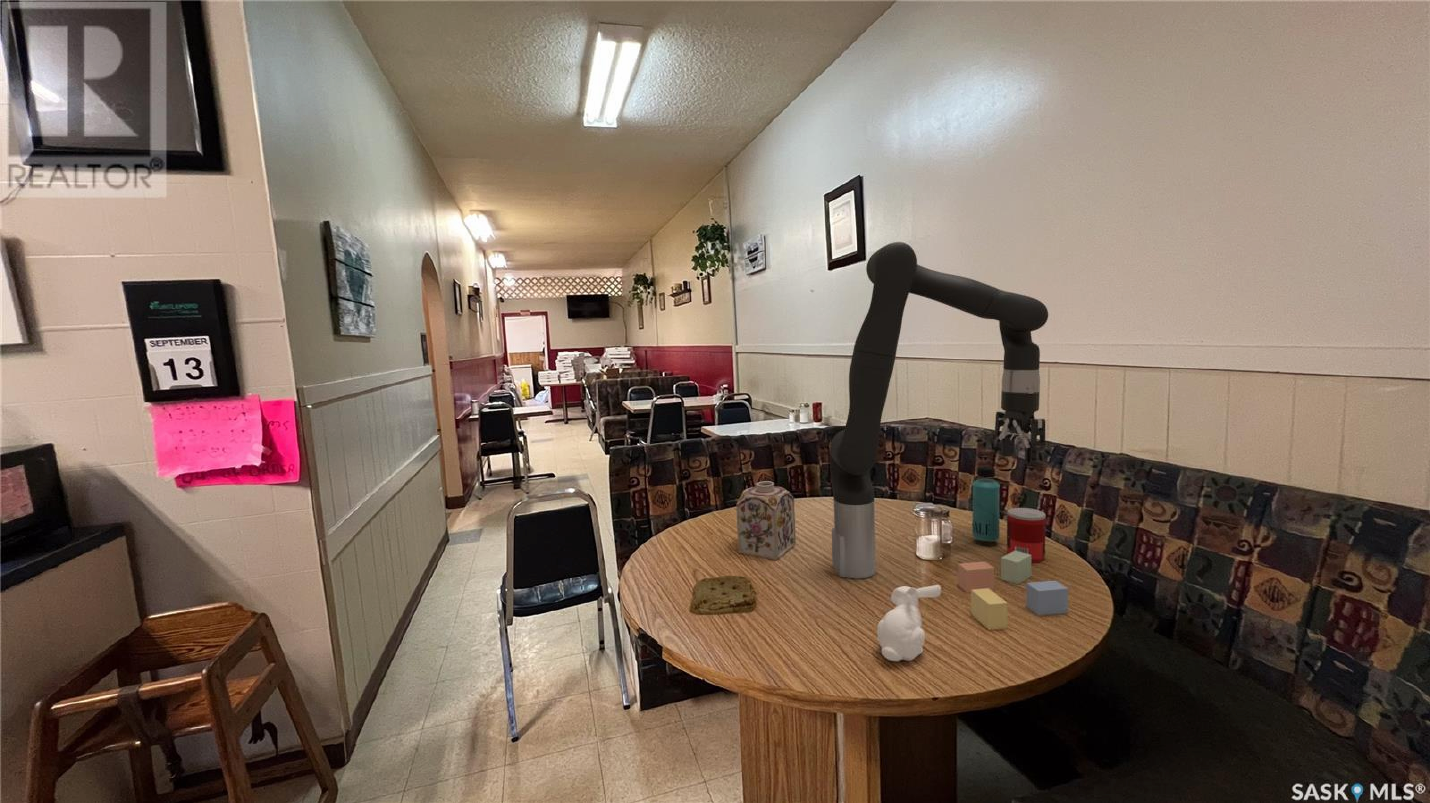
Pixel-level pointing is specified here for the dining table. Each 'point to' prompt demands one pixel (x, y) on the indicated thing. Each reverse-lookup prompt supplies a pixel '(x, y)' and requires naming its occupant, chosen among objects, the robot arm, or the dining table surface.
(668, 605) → the dining table surface
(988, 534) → the beverage bottle
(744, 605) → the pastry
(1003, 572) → the sage brick
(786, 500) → the decorative jar
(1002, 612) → the ochre brick
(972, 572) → the terracotta brick
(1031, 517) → the canned food
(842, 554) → the robot arm
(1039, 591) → the slate brick
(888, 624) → the rabbit
